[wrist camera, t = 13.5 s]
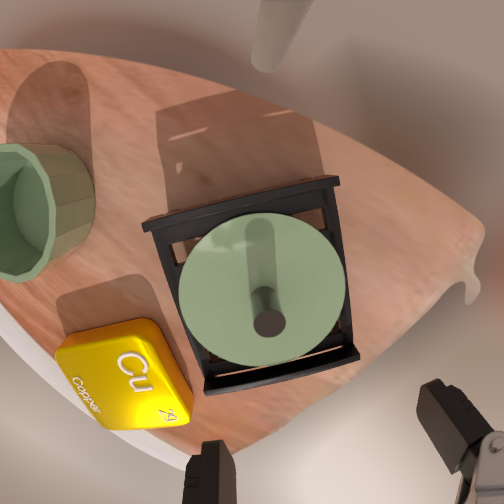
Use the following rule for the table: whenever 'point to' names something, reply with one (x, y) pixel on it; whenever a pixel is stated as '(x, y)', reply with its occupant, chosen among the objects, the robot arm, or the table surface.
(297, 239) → the lid
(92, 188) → the pot
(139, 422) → the element tile
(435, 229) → the table surface
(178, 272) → the rack
